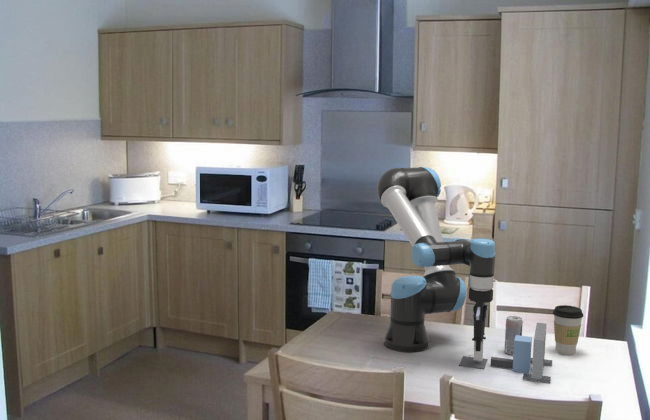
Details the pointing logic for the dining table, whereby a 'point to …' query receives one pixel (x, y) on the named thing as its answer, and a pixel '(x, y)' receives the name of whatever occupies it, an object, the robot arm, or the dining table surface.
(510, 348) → the energy drink
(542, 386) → the dining table surface
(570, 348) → the coffee cup
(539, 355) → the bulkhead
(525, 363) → the plug
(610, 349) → the dining table surface
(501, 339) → the dining table surface
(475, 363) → the mat
